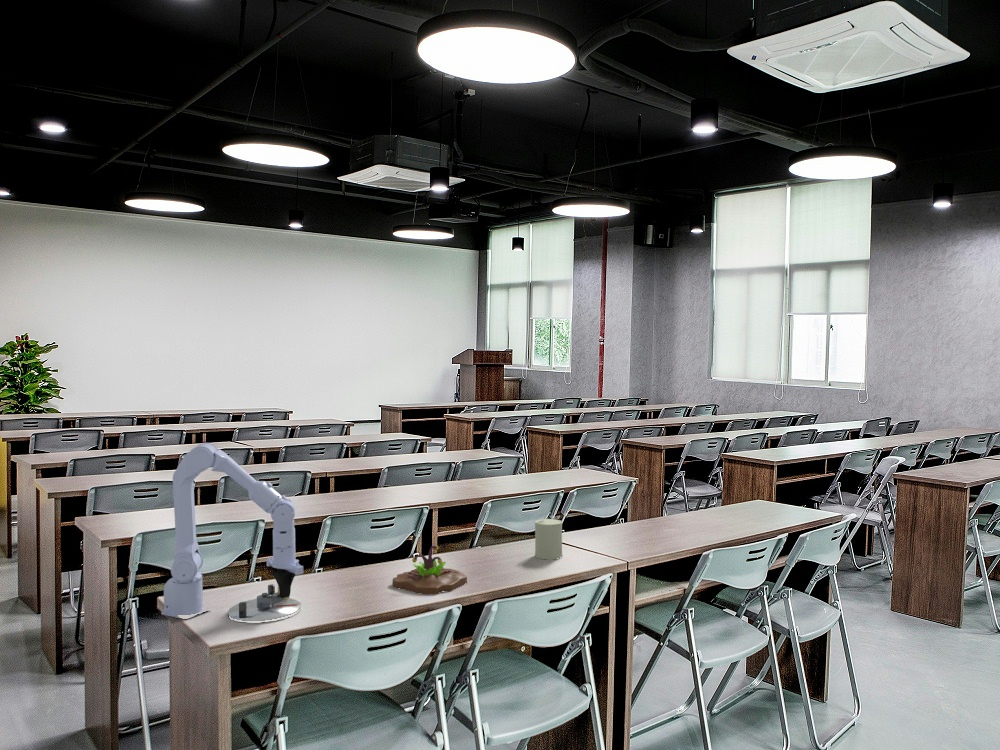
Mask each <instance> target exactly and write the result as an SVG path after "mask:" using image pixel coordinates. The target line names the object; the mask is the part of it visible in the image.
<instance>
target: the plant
mask: <svg viewBox="0 0 1000 750" xmlns="http://www.w3.org/2000/svg"><path fill="white" fill-rule="evenodd" d="M433 550H434V551H439V546H438V545H437V544H433V545H431V547H430V548H429V551H428V556H427V557H428V558H427V557H426V556H425V555H424V554H417V555H416V556H414V557H413V558H412V560H411V561H412V566H413V567H414V568H415V569H413V570H412V569H411V570H410V571H405V572H403V573H399V574H396V577H393V578H392V587H393V586H394V587H393V588H395V587H396V588H395V589H398V588H400V589H399V590H403V589H404V590H403V591H408V590H409V591H408V592H411V591H412V593H414V592H415V593H414V594H416V593H422V594H421V595H439V594H440V593H439V592H441V593H443V592H442V591H448V592H453V591H455V590H457V589H459V588H461V587H462V585H463V586H465V585H466V584H468V577H467V575H465V573H464V572H462V571H460V570H456V569H452V568H445V567H444V566H445V564H446V563H447V561H443V559H442V558H441V557H440V556H434V557H432V556H433ZM419 557H420V558H422V560H423V562H422V561H419V562H418V563H419V565H418V564H416V563H417V561H418V558H419ZM446 565H447V564H446ZM465 583H466V584H465ZM464 584H465V585H464ZM460 586H461V587H460ZM458 587H459V588H458ZM456 588H457V589H456ZM454 589H455V590H454ZM452 590H453V591H452ZM438 593H439V594H438Z"/></svg>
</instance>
